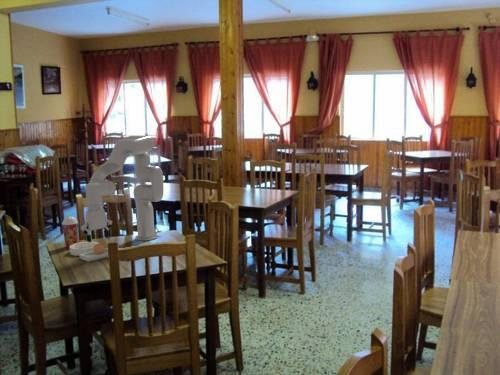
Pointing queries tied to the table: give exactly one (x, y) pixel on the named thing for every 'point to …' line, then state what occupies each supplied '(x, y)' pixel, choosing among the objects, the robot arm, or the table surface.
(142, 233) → the robot arm
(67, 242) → the smoothie
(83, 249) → the bowl
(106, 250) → the tray
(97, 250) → the ball
